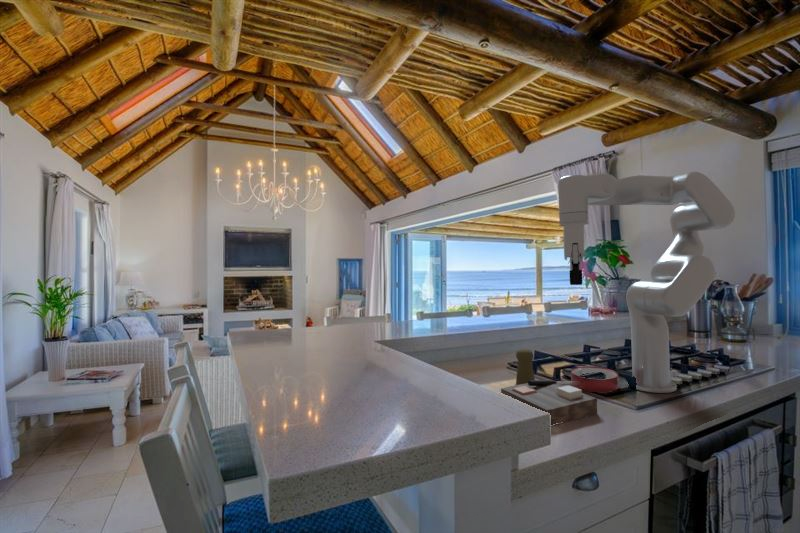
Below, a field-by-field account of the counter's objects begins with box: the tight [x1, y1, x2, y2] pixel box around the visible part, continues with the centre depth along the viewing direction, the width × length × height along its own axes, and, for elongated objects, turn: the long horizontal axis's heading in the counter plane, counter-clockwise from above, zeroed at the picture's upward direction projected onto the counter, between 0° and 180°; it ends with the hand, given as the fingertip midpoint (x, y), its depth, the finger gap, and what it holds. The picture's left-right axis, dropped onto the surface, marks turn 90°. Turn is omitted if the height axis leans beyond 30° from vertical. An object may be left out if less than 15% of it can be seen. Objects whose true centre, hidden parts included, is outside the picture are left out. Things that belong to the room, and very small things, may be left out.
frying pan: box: [528, 366, 620, 393], centre depth 116 cm, size 32×13×6 cm, turn 120°
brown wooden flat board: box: [500, 378, 598, 426], centre depth 105 cm, size 16×18×4 cm
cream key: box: [557, 385, 583, 400], centre depth 103 cm, size 4×4×3 cm
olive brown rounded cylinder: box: [515, 348, 536, 385], centre depth 125 cm, size 6×6×11 cm
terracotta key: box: [513, 386, 536, 396], centre depth 107 cm, size 4×4×3 cm
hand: (576, 284), depth 112 cm, fingers closed
